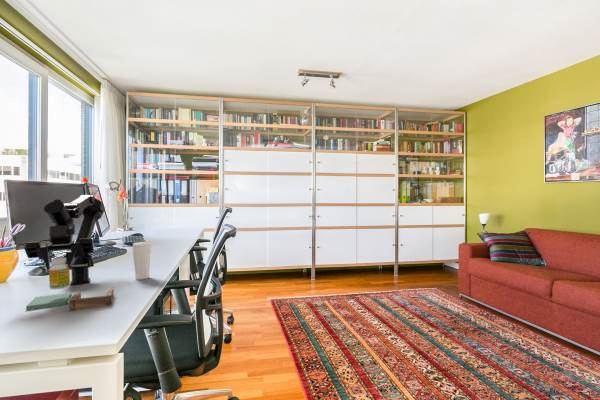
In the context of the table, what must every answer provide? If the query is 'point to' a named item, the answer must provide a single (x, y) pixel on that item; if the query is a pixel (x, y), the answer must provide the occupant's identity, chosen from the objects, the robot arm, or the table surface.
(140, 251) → the white tall cylinder
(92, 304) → the frame
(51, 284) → the supplement bottle
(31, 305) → the green mat
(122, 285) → the table surface
